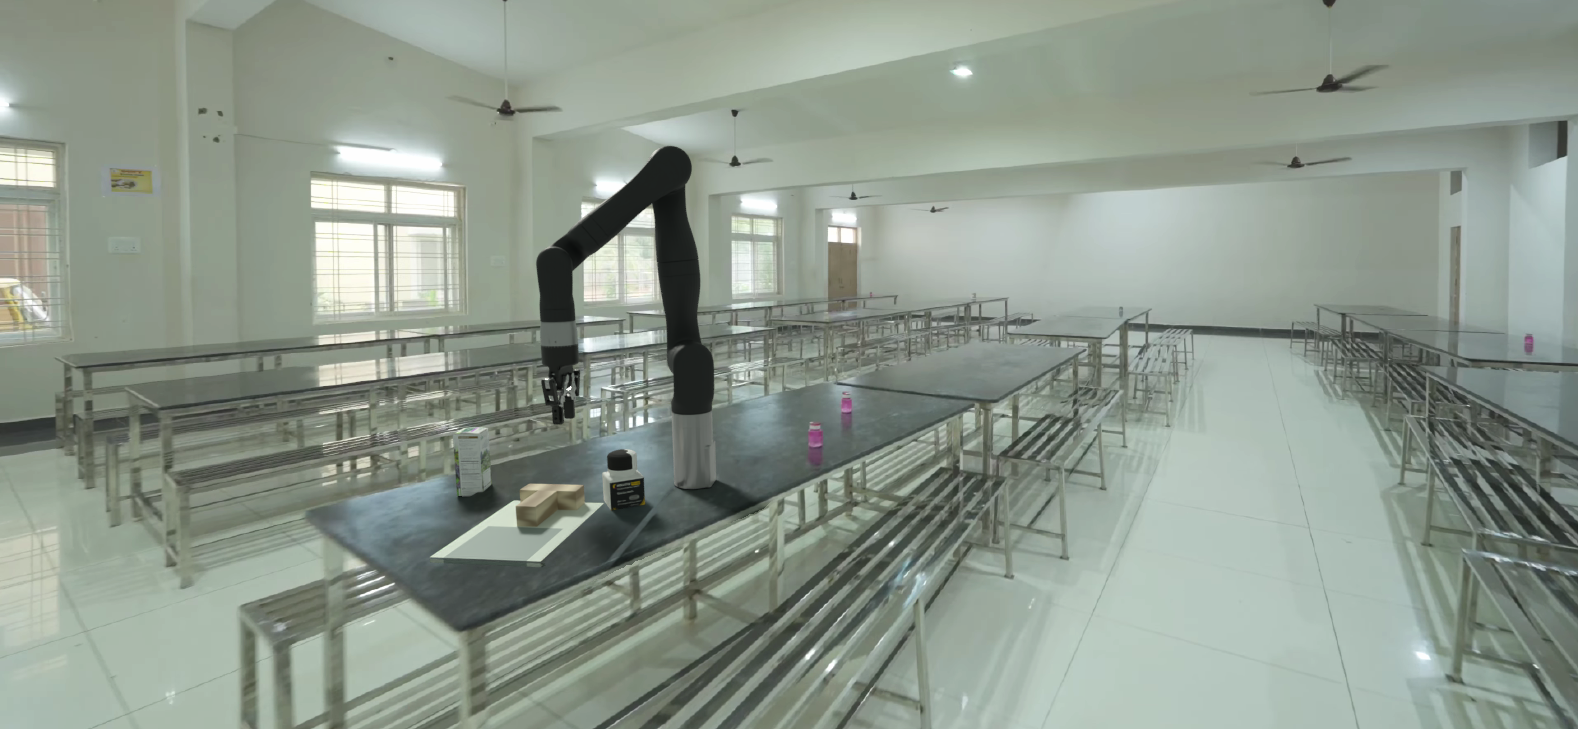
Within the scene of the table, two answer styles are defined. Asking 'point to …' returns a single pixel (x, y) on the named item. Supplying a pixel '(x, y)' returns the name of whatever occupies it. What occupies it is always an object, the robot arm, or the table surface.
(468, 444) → the syrup box
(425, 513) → the table surface
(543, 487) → the wooden T-block
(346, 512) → the table surface
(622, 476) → the medicine bottle
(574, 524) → the sage board
